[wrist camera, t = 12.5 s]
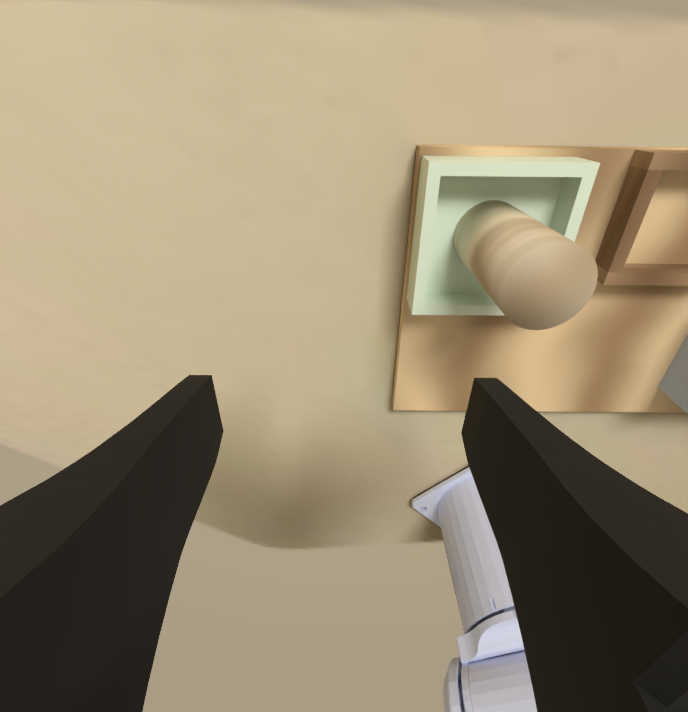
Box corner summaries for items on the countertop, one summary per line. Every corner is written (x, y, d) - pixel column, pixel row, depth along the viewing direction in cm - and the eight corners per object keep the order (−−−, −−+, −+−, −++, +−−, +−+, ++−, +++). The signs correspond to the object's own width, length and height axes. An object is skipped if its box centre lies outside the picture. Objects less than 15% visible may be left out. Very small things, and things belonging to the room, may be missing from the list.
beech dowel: (534, 234, 18) (614, 287, 13) (479, 280, 19) (532, 345, 14) (497, 184, 17) (567, 220, 11) (439, 236, 18) (482, 289, 13)
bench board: (1003, 151, 17) (1075, 157, 15) (796, 405, 25) (830, 427, 23) (416, 145, 17) (424, 150, 15) (392, 401, 24) (395, 423, 23)
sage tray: (576, 156, 16) (600, 163, 15) (534, 299, 20) (550, 315, 18) (421, 155, 16) (429, 161, 15) (406, 298, 20) (411, 314, 18)
